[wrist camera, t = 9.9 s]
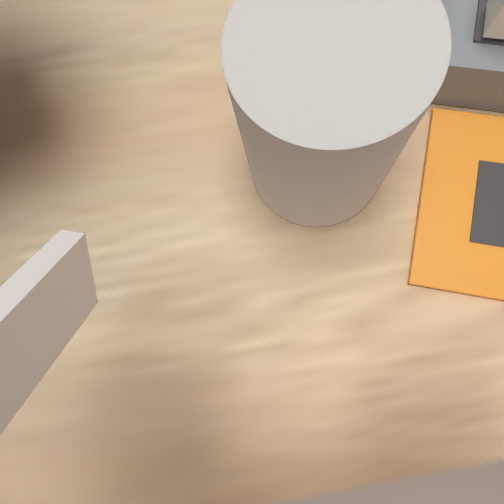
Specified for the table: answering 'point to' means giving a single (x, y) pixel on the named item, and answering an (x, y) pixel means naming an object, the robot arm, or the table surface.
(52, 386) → the table surface
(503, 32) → the toggle
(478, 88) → the grey switch box
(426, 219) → the pad
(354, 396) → the table surface
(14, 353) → the robot arm
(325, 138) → the white closed cylinder
